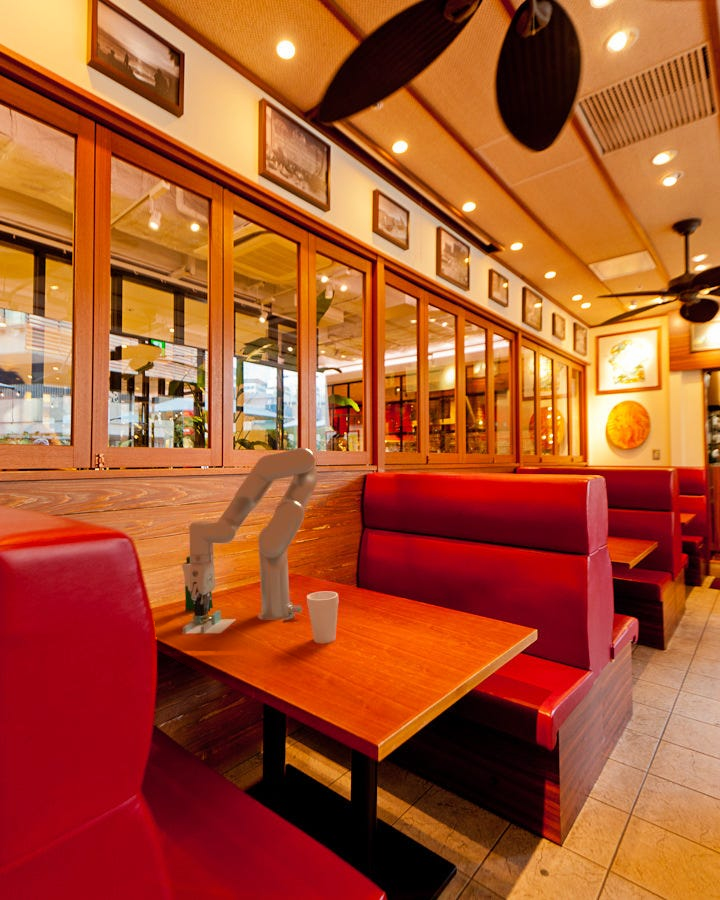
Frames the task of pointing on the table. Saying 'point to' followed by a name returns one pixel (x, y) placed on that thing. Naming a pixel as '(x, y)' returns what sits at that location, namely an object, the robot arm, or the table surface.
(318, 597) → the foam cup
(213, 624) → the board
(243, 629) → the table surface
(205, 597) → the cell
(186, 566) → the milk carton
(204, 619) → the plunger
